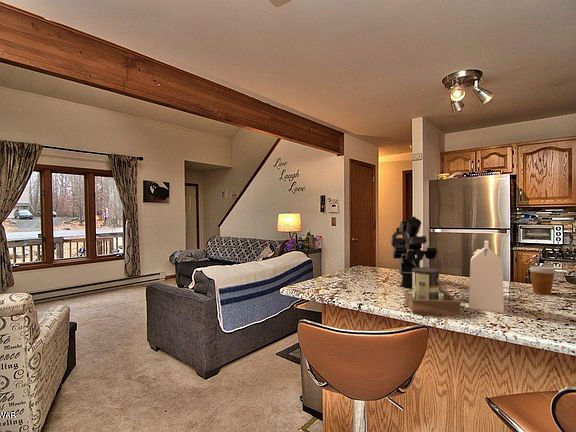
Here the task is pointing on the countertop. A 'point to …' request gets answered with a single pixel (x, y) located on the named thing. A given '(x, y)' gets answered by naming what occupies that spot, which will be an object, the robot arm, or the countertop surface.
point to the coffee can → (425, 283)
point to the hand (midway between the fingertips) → (417, 267)
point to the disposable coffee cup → (542, 279)
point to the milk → (486, 281)
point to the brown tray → (433, 305)
